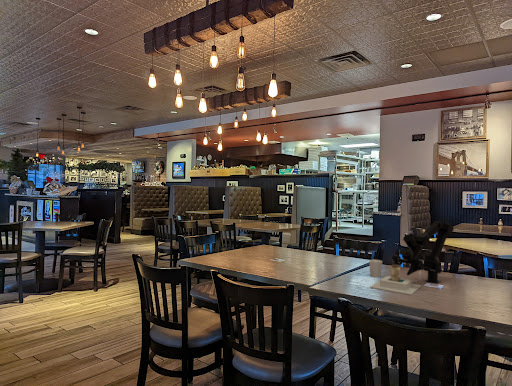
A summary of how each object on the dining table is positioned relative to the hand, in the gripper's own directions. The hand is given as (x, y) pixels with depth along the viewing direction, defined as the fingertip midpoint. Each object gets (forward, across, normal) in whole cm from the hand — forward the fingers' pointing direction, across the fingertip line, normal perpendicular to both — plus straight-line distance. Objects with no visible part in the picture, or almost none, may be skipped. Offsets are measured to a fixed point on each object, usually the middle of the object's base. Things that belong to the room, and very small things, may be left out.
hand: (400, 273), depth 203 cm
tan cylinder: (+8, 0, +2) cm, 8 cm away
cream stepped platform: (+8, 0, +3) cm, 8 cm away
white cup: (+1, -25, +11) cm, 27 cm away
